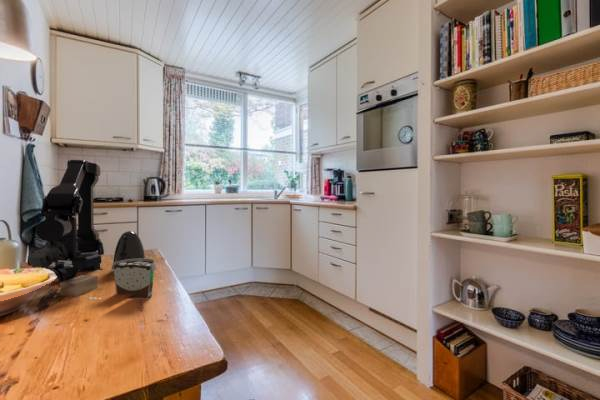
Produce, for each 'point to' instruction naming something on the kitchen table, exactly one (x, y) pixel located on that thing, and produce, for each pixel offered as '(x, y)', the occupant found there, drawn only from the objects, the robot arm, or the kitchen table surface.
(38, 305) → the kitchen table surface
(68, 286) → the grey rectangular block
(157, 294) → the kitchen table surface
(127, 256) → the dark grey rounded cone
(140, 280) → the food container
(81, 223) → the robot arm
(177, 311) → the kitchen table surface
